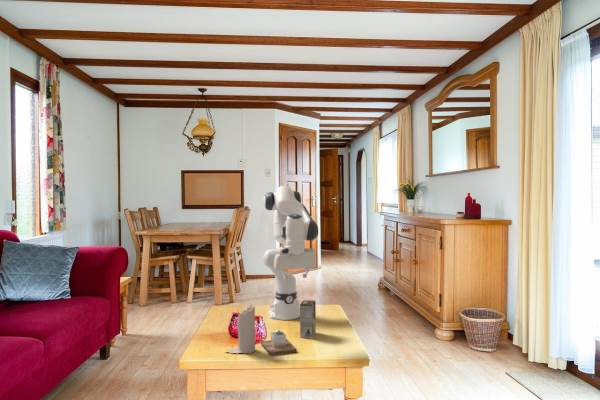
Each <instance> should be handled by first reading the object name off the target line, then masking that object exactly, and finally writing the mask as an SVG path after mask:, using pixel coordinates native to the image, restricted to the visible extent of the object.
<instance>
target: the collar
mask: <svg viewBox="0 0 600 400" xmlns="http://www.w3.org/2000/svg"><path fill="white" fill-rule="evenodd" d="M280 332H281V335H277V336H276V331H275V332H271V333H270V340H271V345H272V346H273V347H274V348H277V347H285V346H286V339H287V335H286V334H285V332H284V331H280Z"/></svg>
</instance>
